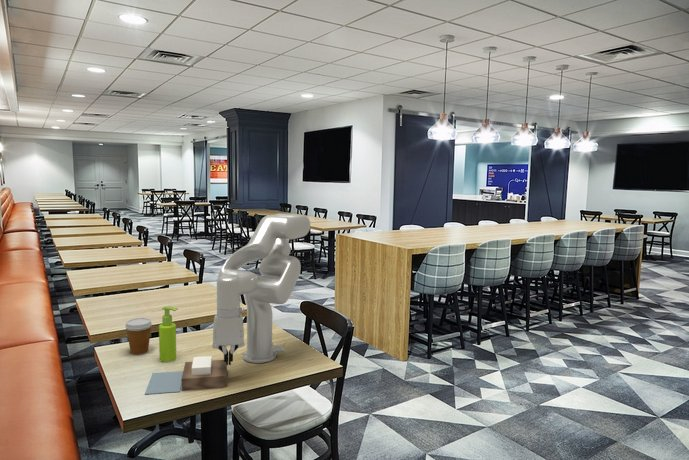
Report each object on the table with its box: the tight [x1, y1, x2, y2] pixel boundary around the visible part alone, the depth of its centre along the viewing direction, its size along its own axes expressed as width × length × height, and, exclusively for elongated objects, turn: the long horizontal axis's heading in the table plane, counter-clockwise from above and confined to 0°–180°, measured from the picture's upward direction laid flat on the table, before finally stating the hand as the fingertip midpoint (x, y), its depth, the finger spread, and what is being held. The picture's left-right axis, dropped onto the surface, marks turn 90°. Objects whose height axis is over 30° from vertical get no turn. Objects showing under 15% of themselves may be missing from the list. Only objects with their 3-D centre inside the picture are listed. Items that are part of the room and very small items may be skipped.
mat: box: [144, 370, 183, 396], centre depth 158 cm, size 10×15×1 cm
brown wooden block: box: [181, 359, 228, 391], centre depth 161 cm, size 14×13×4 cm
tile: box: [192, 355, 213, 375], centre depth 160 cm, size 6×9×2 cm, turn 13°
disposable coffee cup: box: [124, 317, 153, 356], centre depth 182 cm, size 10×10×12 cm
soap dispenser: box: [158, 306, 179, 363], centre depth 175 cm, size 6×7×20 cm
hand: (228, 363), depth 162 cm, fingers closed
